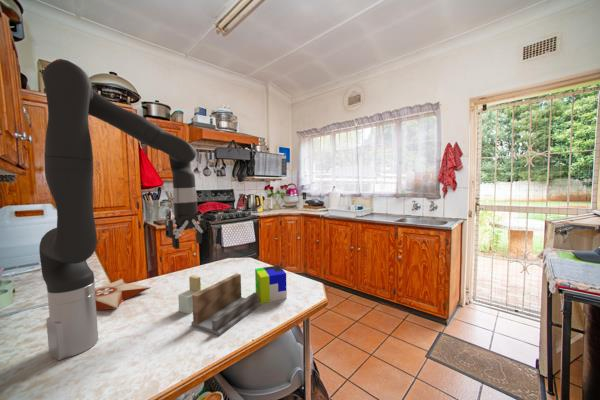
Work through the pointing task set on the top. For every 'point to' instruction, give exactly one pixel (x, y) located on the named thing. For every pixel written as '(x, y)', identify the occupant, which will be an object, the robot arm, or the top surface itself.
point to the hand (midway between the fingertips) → (188, 245)
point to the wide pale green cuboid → (190, 294)
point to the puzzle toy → (270, 284)
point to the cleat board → (222, 305)
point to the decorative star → (116, 294)
